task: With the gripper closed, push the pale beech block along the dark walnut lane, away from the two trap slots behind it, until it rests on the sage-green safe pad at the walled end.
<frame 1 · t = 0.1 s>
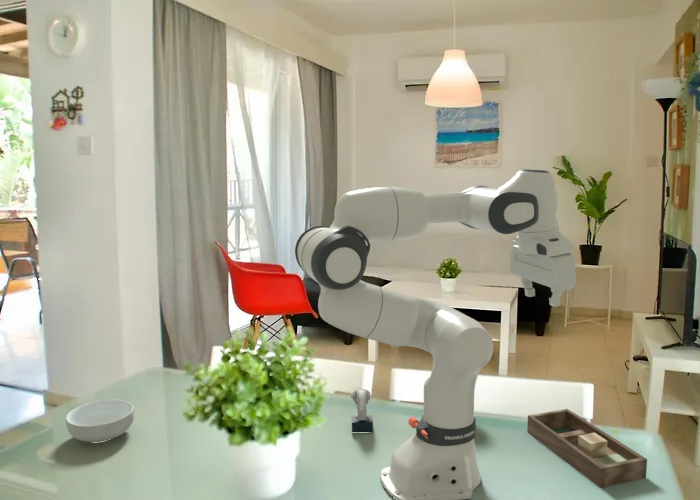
hand: (542, 300, 139), 39 cm above the table, tool pointing down, fingers open, 8 cm apart
cereal bowl: (102, 437, 163), on the table
grey joystick on base: (362, 430, 163), on the table
block: (592, 452, 144), point 2 cm above the table, touching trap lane
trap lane: (582, 453, 148), on the table
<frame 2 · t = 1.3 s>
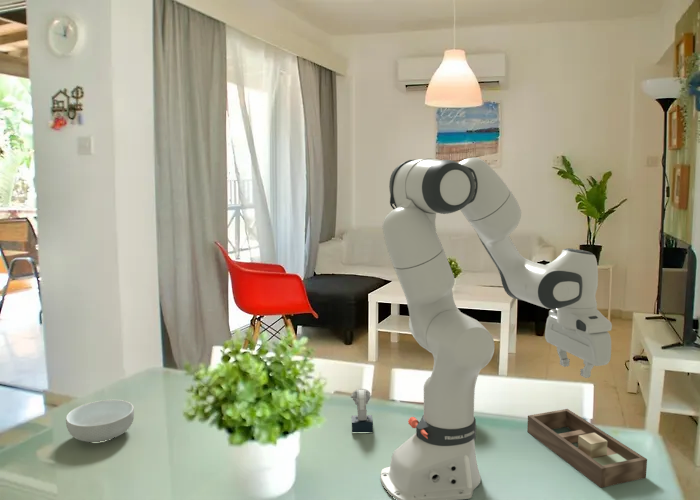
hand: (574, 371, 148), 19 cm above the table, tool pointing down, fingers open, 6 cm apart
nothing on the table moved.
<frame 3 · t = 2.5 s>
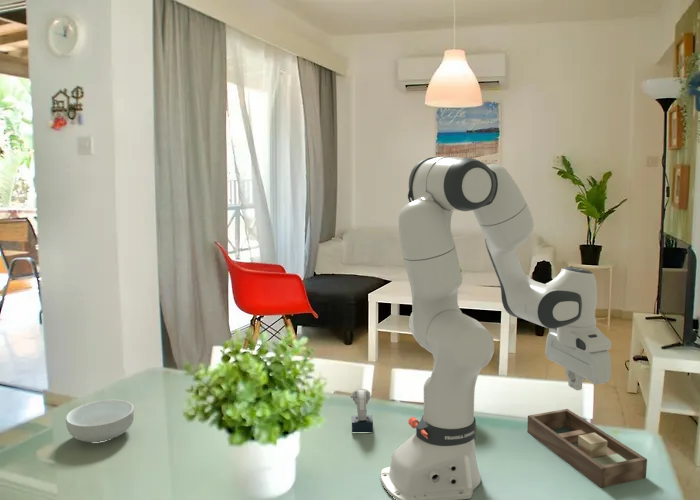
hand: (575, 388, 149), 15 cm above the table, tool pointing down, fingers closed
nothing on the table moved.
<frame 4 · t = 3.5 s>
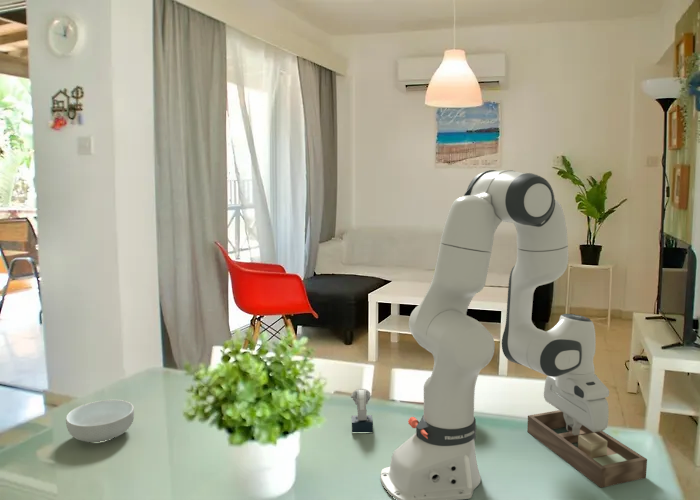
hand: (572, 432, 151), 3 cm above the table, tool pointing down, fingers closed
nothing on the table moved.
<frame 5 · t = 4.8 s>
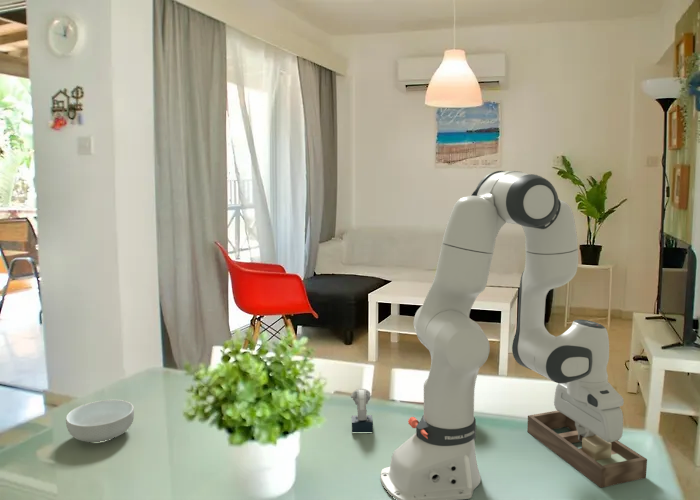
hand: (584, 442, 146), 3 cm above the table, tool pointing down, fingers closed
block: (596, 454, 143), point 2 cm above the table, touching gripper, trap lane
everything else where it was.
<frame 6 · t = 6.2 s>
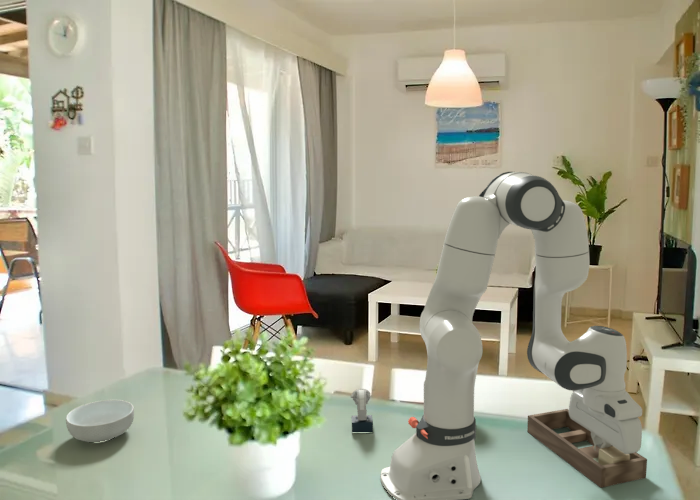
hand: (601, 453, 141), 3 cm above the table, tool pointing down, fingers closed
block: (613, 466, 138), point 2 cm above the table, touching gripper, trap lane
everything else where it was.
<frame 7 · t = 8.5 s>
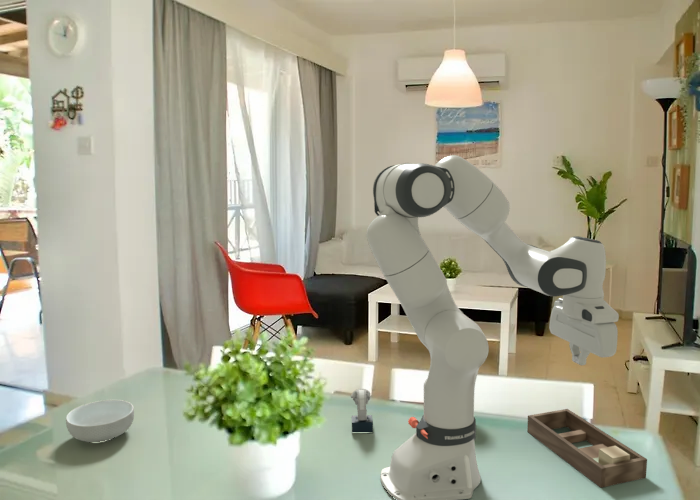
hand: (578, 363, 144), 23 cm above the table, tool pointing down, fingers closed
block: (613, 466, 138), point 2 cm above the table, touching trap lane
everything else where it was.
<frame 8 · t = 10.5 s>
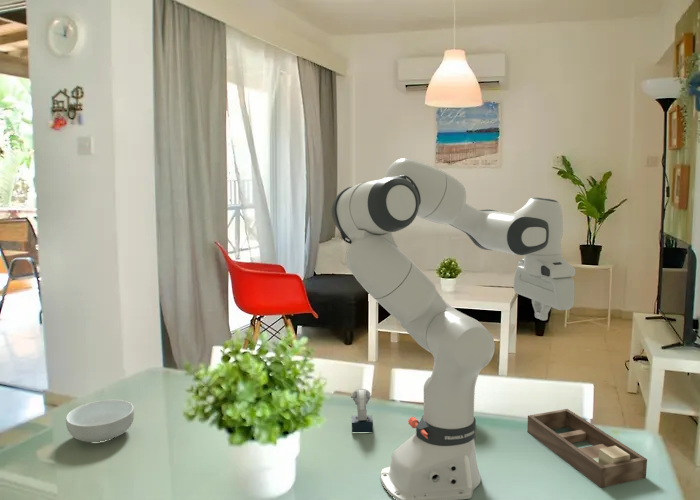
hand: (541, 318, 151), 31 cm above the table, tool pointing down, fingers closed
nothing on the table moved.
at the end: block inside the target area on the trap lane (0.9 cm from its centre), point 2.0 cm above the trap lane's base; block tilted 0° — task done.
